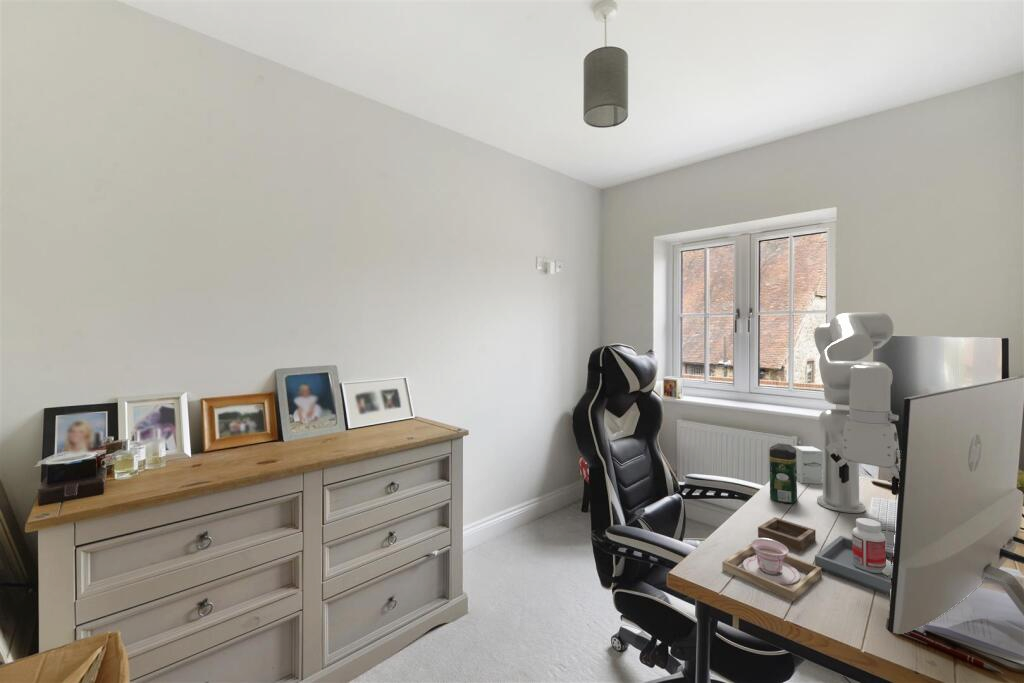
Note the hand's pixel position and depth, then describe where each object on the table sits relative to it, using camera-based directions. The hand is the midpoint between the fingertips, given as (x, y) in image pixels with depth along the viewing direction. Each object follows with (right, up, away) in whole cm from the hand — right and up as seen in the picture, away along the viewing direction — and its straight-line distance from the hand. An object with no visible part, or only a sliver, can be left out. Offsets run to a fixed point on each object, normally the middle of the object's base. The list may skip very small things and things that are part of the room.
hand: (869, 487), depth 104 cm
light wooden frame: (-23, -21, 0) cm, 31 cm away
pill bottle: (0, -20, 0) cm, 20 cm away
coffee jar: (+7, -19, +45) cm, 49 cm away
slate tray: (0, -20, 0) cm, 20 cm away
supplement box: (+27, -19, +62) cm, 70 cm away
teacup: (-23, -21, +1) cm, 31 cm away
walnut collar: (-9, -20, +17) cm, 28 cm away
